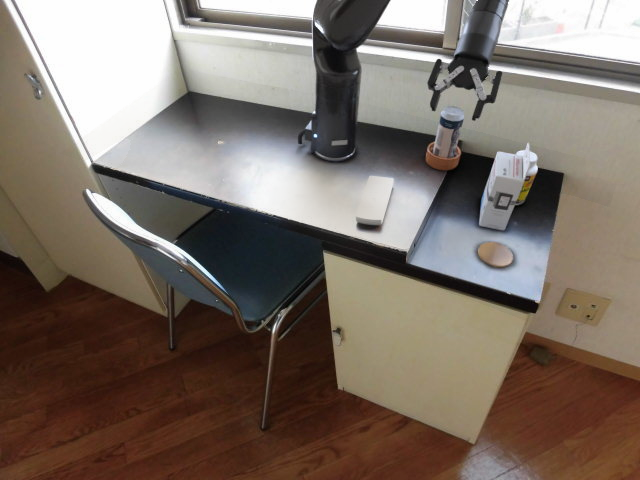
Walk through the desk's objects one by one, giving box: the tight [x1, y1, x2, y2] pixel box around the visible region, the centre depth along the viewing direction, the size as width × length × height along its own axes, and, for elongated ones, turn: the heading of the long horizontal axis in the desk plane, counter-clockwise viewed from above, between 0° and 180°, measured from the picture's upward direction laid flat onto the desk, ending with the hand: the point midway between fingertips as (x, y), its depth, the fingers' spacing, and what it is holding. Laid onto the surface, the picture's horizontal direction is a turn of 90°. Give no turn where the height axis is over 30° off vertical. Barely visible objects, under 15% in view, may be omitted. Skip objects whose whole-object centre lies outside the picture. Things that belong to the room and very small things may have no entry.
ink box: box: [478, 142, 531, 231], centre depth 87 cm, size 9×5×15 cm, turn 163°
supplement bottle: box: [515, 149, 539, 206], centre depth 93 cm, size 6×6×10 cm
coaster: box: [477, 241, 514, 268], centre depth 84 cm, size 6×6×1 cm
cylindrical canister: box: [432, 105, 465, 158], centre depth 101 cm, size 5×5×12 cm
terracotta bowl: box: [424, 141, 462, 171], centre depth 105 cm, size 7×7×3 cm
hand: (453, 114), depth 99 cm, fingers open, 8 cm apart
